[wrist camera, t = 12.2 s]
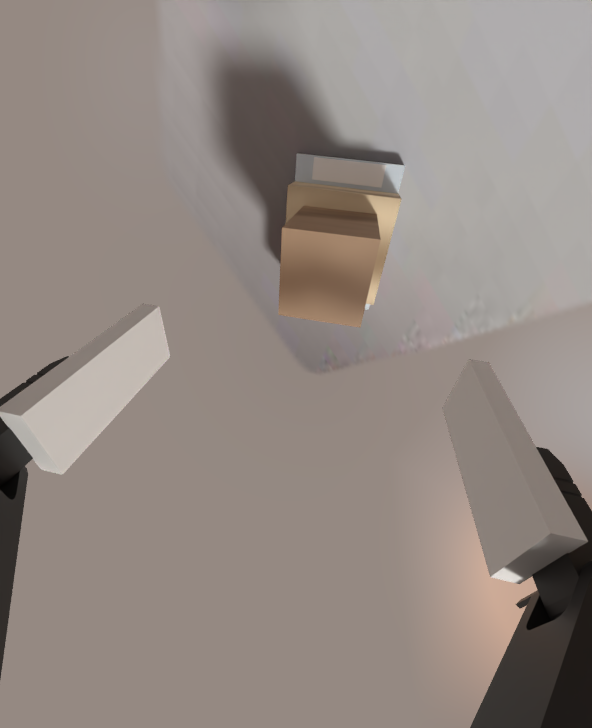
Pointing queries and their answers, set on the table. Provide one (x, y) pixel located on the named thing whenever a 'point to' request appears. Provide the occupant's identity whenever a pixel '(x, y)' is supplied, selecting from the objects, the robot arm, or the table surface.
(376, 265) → the oak plinth
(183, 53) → the table surface
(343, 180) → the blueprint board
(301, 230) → the walnut block
